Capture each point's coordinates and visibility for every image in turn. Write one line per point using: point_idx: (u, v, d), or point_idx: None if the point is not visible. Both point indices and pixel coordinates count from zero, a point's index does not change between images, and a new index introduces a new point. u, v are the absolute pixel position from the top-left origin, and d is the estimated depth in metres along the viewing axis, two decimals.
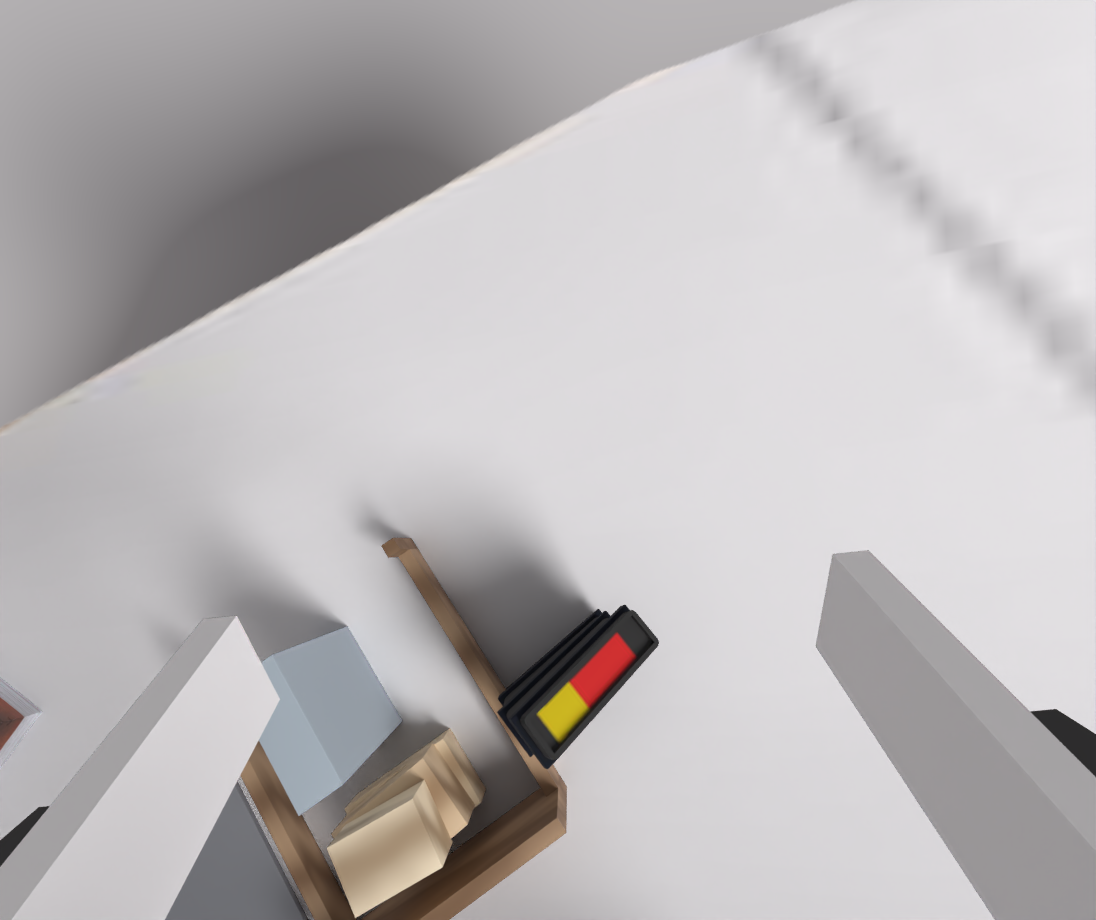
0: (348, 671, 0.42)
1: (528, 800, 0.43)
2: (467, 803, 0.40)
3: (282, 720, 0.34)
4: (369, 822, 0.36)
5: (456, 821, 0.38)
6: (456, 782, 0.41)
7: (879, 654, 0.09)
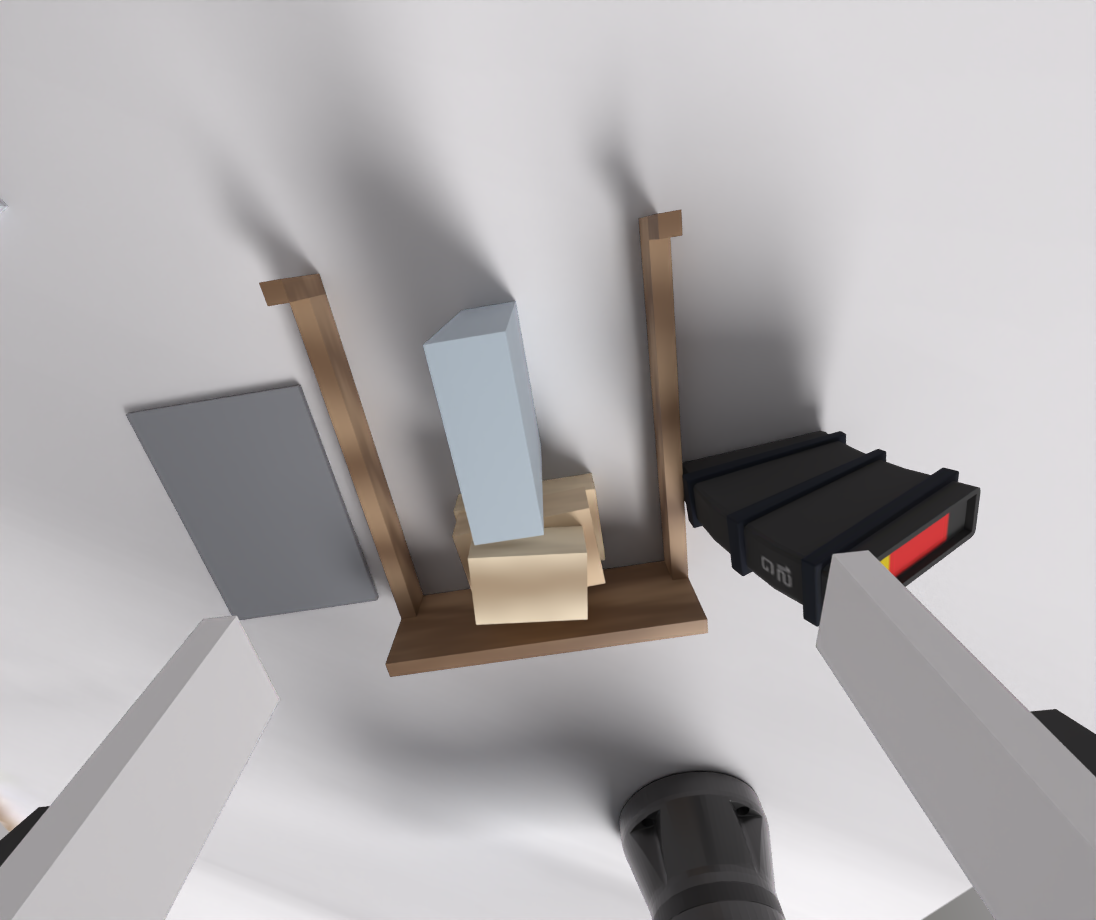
0: (524, 372, 0.29)
1: (642, 570, 0.39)
2: None
3: (489, 429, 0.22)
4: (525, 553, 0.29)
5: (595, 576, 0.33)
6: None
7: (878, 655, 0.09)
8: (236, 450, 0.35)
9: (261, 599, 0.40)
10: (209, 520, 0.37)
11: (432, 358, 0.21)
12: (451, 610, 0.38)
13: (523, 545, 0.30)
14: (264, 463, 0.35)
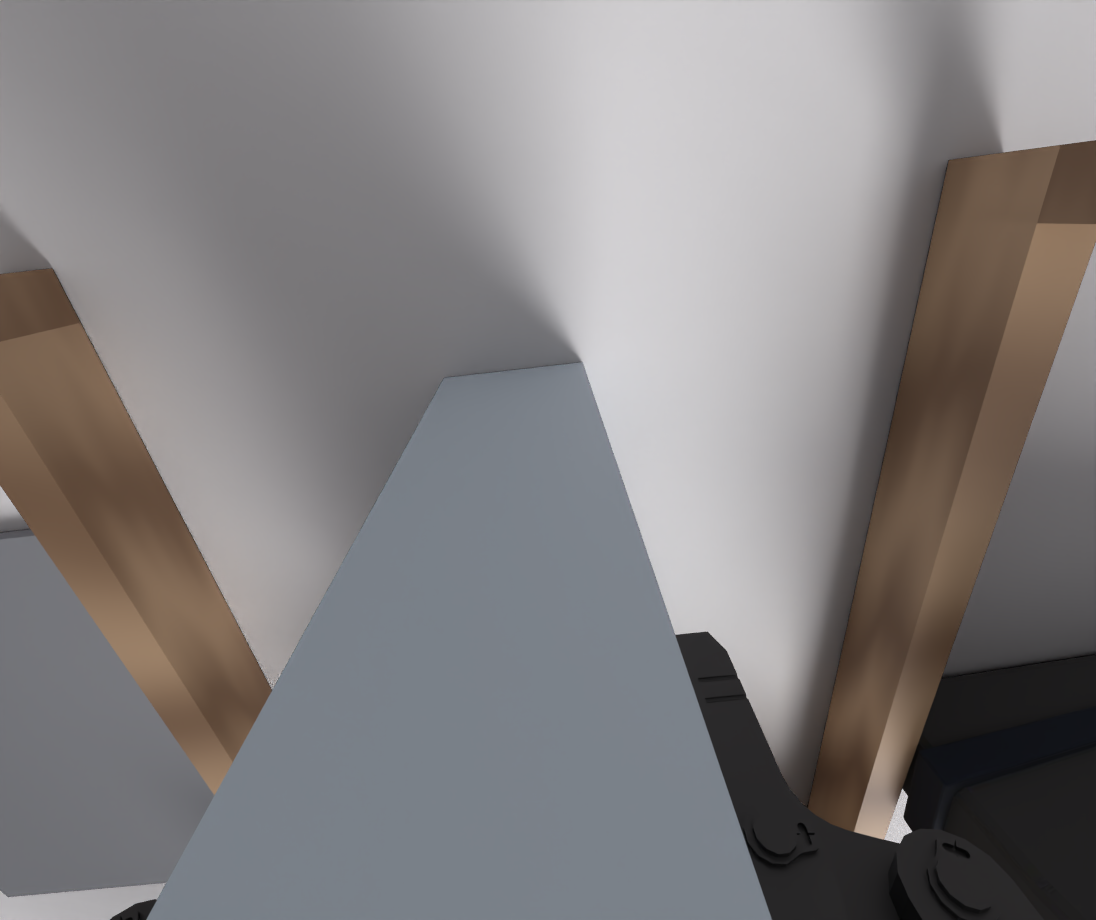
0: None
1: None
2: None
3: None
4: None
5: None
6: None
7: None
8: None
9: (51, 871, 0.21)
10: None
11: None
12: None
13: None
14: (1, 675, 0.16)
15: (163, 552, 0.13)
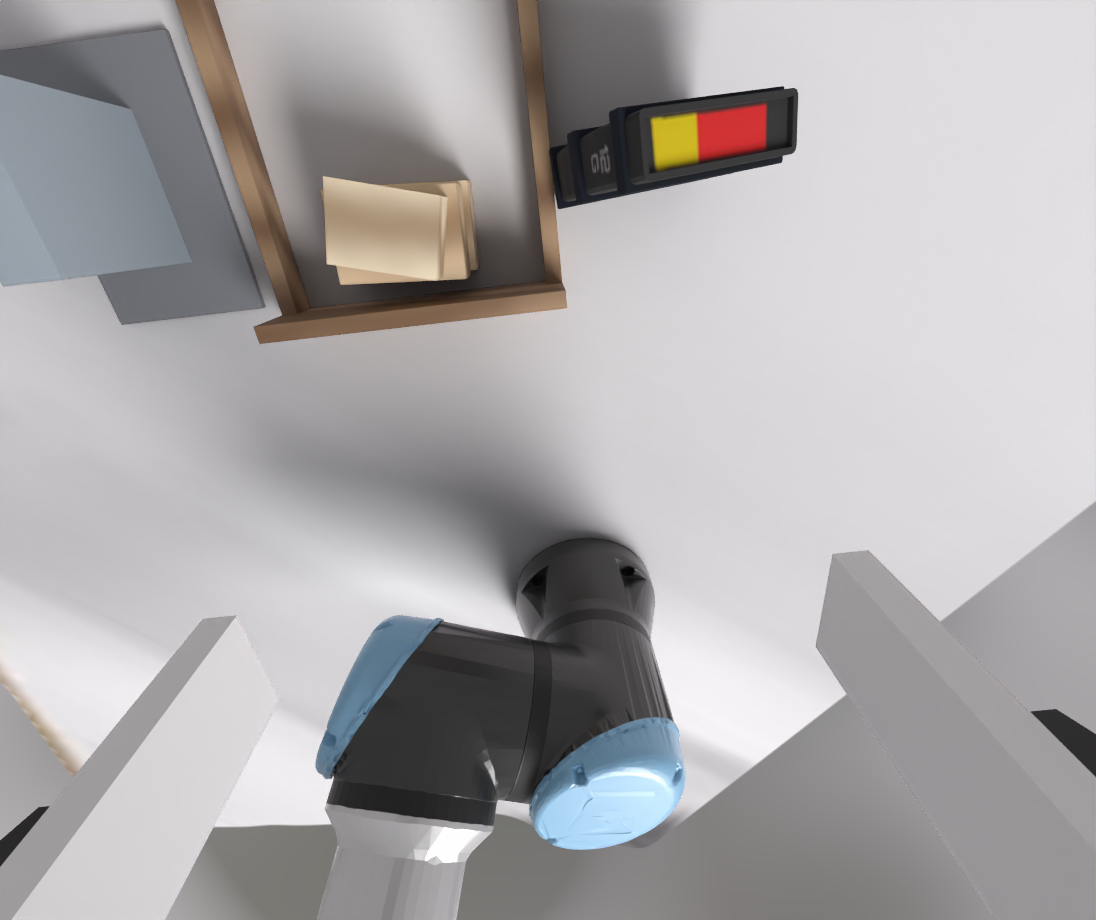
0: (114, 165, 0.33)
1: (522, 284, 0.40)
2: (468, 265, 0.37)
3: None
4: None
5: (457, 268, 0.35)
6: (466, 240, 0.36)
7: (878, 654, 0.09)
8: None
9: (146, 300, 0.40)
10: None
11: None
12: (332, 309, 0.39)
13: None
14: None
15: (215, 29, 0.32)
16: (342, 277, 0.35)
